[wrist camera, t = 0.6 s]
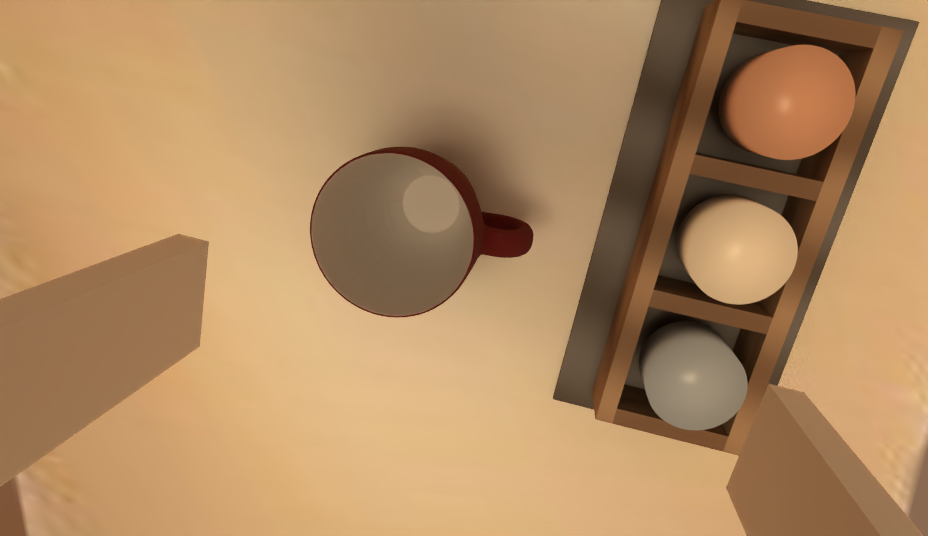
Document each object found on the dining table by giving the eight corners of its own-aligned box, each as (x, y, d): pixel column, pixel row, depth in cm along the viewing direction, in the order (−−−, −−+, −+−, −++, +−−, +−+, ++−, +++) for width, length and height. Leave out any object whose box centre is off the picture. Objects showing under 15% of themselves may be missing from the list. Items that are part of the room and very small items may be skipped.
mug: (540, 142, 36) (535, 156, 27) (532, 272, 38) (525, 329, 29) (369, 135, 38) (305, 146, 28) (370, 261, 40) (311, 311, 30)
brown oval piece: (737, 40, 31) (757, 34, 28) (841, 61, 30) (873, 57, 27) (705, 143, 32) (721, 147, 29) (804, 164, 32) (831, 170, 29)
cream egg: (692, 185, 33) (706, 193, 30) (789, 206, 33) (813, 217, 30) (664, 274, 35) (675, 291, 31) (756, 295, 34) (776, 314, 31)
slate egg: (652, 311, 35) (662, 331, 32) (743, 333, 35) (761, 355, 32) (628, 390, 37) (634, 416, 34) (714, 412, 36) (729, 440, 33)
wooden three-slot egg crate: (668, -25, 33) (683, -42, 29) (916, 22, 32) (965, 11, 28) (553, 396, 40) (553, 427, 36) (751, 446, 39) (772, 483, 35)
